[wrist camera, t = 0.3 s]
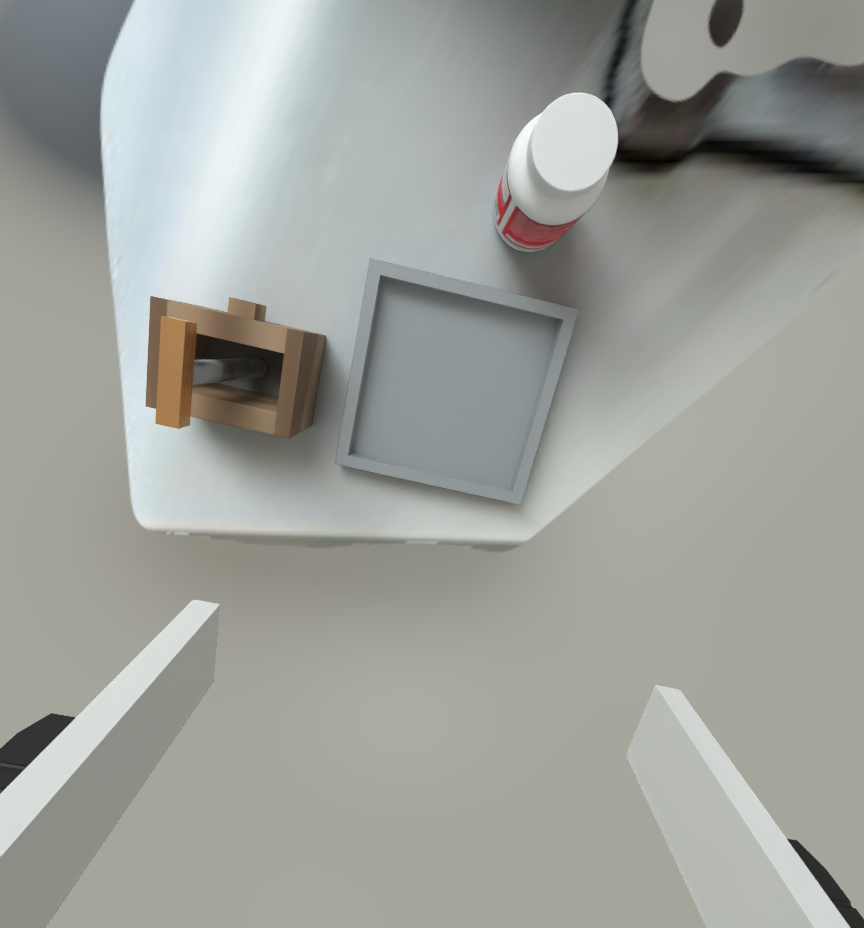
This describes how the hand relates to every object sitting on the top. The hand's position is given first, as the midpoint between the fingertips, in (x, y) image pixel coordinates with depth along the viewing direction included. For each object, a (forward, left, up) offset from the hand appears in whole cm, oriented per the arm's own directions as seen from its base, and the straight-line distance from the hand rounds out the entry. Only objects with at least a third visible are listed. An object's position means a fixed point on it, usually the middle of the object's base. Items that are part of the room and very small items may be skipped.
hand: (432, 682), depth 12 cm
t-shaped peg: (-5, -17, -27) cm, 32 cm away
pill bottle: (-22, +3, -27) cm, 35 cm away
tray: (-7, 0, -27) cm, 28 cm away
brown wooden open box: (-5, -17, -27) cm, 32 cm away
